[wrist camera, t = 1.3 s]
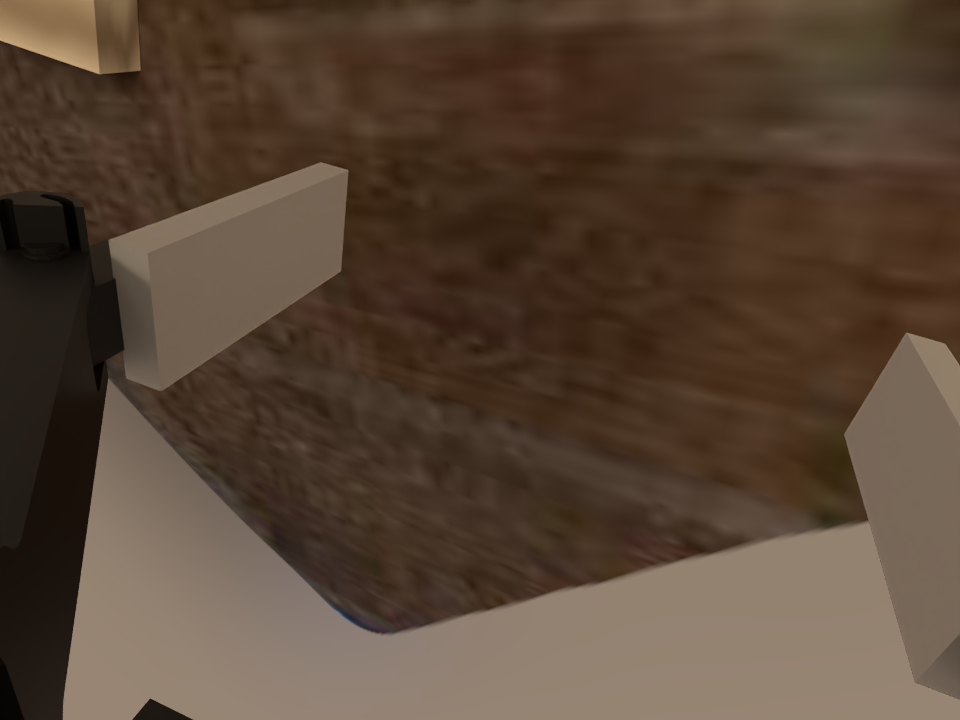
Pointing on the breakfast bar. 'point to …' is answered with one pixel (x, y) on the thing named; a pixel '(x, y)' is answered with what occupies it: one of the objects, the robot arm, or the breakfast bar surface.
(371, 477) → the breakfast bar surface
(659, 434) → the breakfast bar surface
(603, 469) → the breakfast bar surface
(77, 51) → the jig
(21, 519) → the robot arm
